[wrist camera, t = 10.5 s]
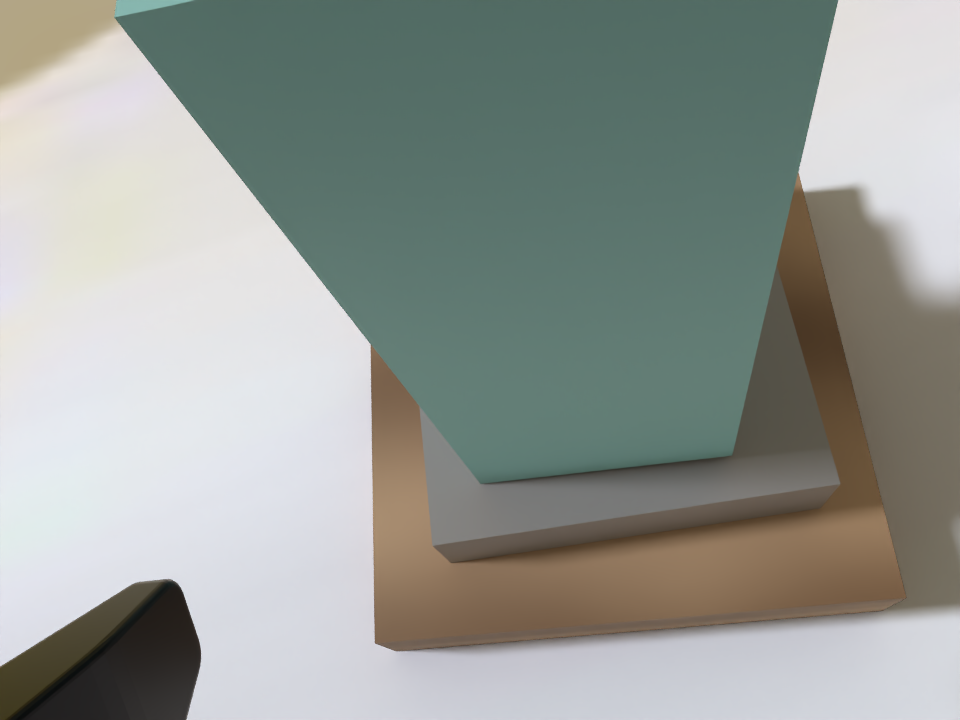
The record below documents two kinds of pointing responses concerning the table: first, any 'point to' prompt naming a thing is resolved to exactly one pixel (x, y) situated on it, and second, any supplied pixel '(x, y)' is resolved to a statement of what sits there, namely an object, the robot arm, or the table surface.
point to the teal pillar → (523, 197)
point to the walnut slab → (650, 557)
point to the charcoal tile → (650, 473)
